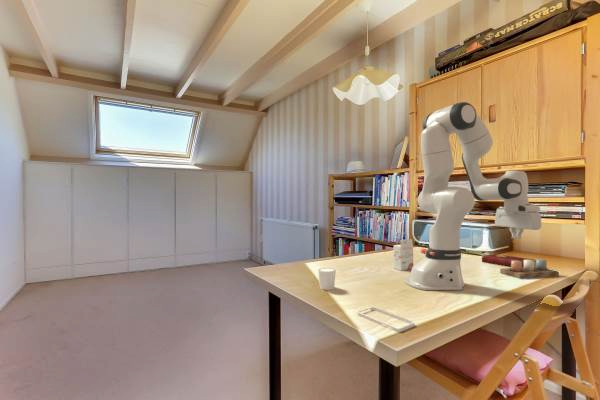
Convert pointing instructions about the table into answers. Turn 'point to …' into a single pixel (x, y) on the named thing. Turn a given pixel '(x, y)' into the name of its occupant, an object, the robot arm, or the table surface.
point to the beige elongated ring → (388, 315)
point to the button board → (529, 273)
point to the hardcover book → (503, 259)
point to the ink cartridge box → (403, 255)
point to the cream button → (528, 265)
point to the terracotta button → (516, 266)
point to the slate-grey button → (541, 264)
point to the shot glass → (327, 278)
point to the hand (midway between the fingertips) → (516, 238)
